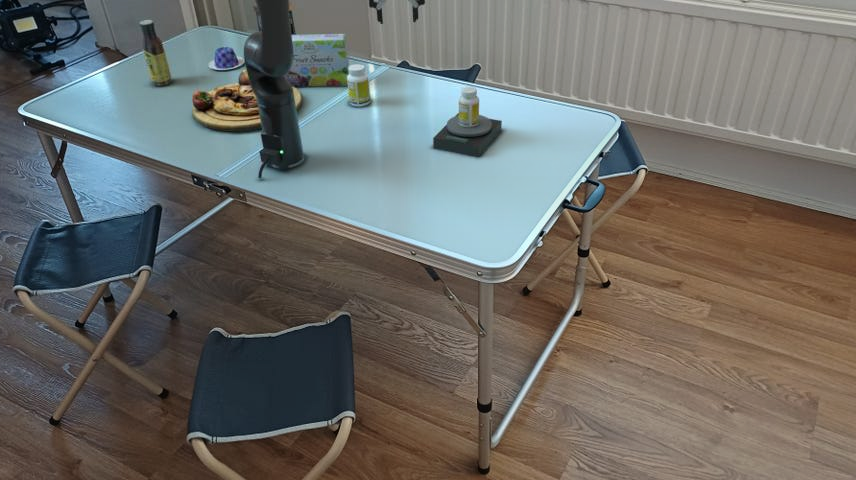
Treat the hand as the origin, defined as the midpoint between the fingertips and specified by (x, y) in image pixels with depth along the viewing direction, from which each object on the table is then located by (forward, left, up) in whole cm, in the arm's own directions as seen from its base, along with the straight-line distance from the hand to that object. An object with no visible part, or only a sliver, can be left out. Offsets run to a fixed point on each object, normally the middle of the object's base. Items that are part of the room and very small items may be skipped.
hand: (398, 22), depth 188 cm
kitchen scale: (-3, -21, -28) cm, 35 cm away
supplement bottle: (-2, -21, -24) cm, 32 cm away
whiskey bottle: (+23, +58, -28) cm, 68 cm away
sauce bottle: (-5, +85, -28) cm, 90 cm away
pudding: (+15, +75, -28) cm, 82 cm away
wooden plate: (-10, +47, -28) cm, 56 cm away
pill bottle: (+6, +18, -28) cm, 34 cm away
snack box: (+13, +38, -28) cm, 49 cm away
